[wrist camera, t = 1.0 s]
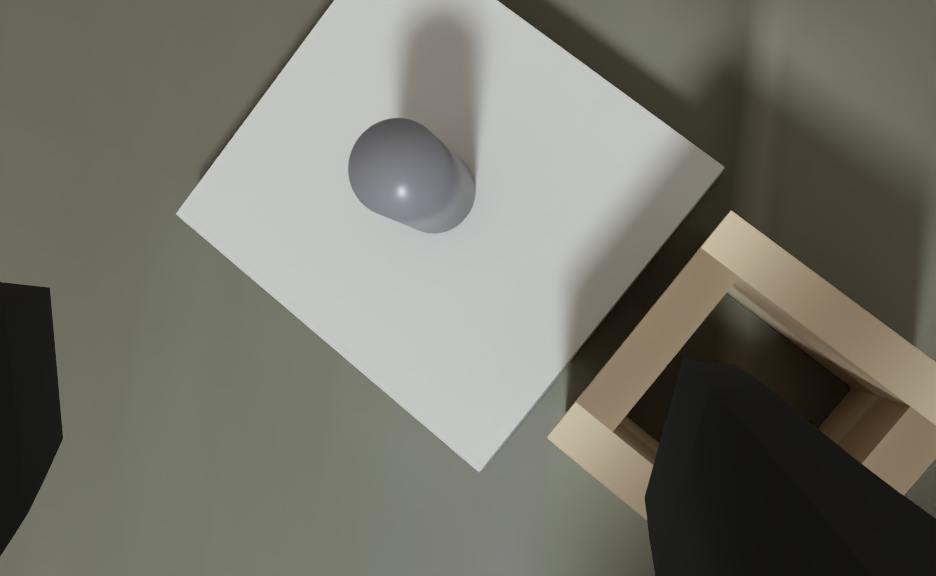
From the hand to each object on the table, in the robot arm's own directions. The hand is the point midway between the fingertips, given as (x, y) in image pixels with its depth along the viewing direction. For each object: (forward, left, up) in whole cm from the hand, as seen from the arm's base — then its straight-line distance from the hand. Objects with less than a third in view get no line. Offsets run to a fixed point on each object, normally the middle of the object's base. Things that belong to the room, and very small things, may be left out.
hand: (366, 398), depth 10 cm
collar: (-5, -3, -12) cm, 13 cm away
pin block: (+4, -2, -12) cm, 13 cm away
